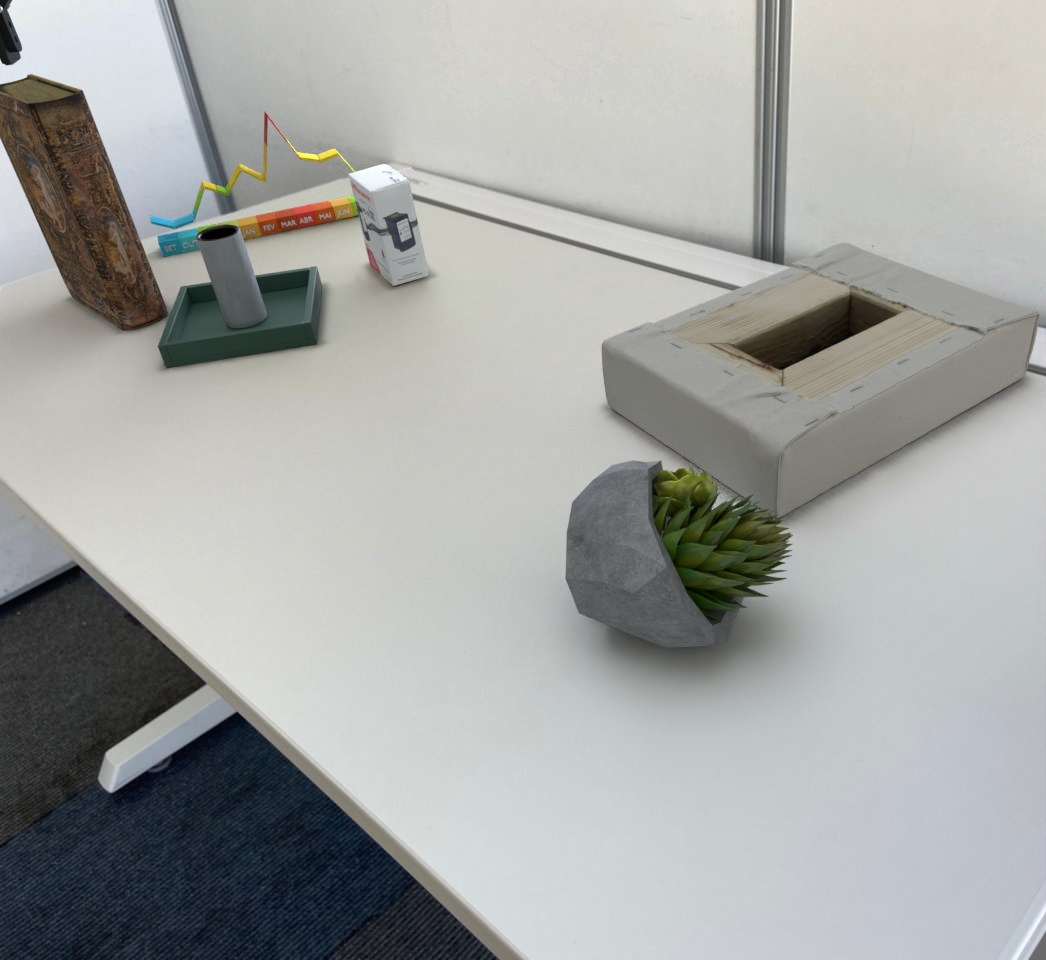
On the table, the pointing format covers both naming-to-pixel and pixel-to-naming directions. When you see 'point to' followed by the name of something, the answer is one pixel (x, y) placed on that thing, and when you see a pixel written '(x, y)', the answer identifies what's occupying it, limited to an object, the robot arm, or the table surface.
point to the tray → (207, 337)
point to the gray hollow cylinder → (232, 275)
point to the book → (78, 200)
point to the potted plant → (667, 554)
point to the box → (815, 371)
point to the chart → (258, 223)
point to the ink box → (389, 223)
